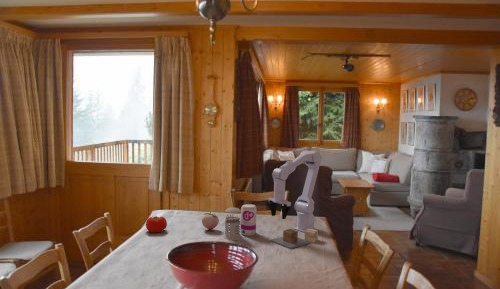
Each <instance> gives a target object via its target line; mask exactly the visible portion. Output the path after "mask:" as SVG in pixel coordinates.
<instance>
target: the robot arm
mask: <svg viewBox="0 0 500 289" xmlns="http://www.w3.org/2000/svg"><path fill="white" fill-rule="evenodd" d="M321 161H322V155H321V152H320V151H317V150H307V149H305V150H303V151H300V154H299V155H298V156H297V157H296V158H294V159H293V160H287V161H286V162H285V163H284V164H283V165H281V166H280V167H279V168H278V167H276V168H274V169H273V170H272V173H271V176H272V180H273V197H268V198H267V199H268V202H267V205H268V207H269V210H270V214H271V216H272V217H275V216H276V215H277V206H278V205H279V204H280V210H281V219H282V220H286V219H287V216H288V213H289V211H290V209H291V206H292V202H291V201H288V200H286V180H287V179H288V177H289V175H291V173H293V172H294V171H295V170H296V168H297V167H298V166H300V165H301V164H303V163H304V164H305V165H306V166H307V168H308V171H307V174H306V177H305V181H304V186H303V190H302V194H301V195H300V196H298V197H297V200H296V201H295V203H294V210H295V211H296V214H297V219H296V220H297V221H296V227H293V230H296V231H300V232H303V233H305V231H306V230H308V229H313V230H316V228H315V216H314V214H313V213H314V210H315V201H314V200H313V198H312V197H313V194H314V190H315V185H316V180H317V178H318V173H319V169H320V165H321Z"/></svg>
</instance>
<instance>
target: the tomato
mask: <svg viewBox="0 0 500 289" xmlns="http://www.w3.org/2000/svg"><path fill="white" fill-rule="evenodd" d="M167 226H168V222H167V219H166V218H165V217H164V216H160V217H159V216H158V215H156V216H151V217H148V219H146V221H145V228H146V230H148V231H149V232H151V233H161V232H163V231H164V230H165V229H166V228H167Z"/></svg>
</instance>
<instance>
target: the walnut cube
mask: <svg viewBox="0 0 500 289" xmlns="http://www.w3.org/2000/svg"><path fill="white" fill-rule="evenodd" d="M298 231H299V230H296V229H294V228H293V229H292V228H288V229H284V230H283V234H282V237H283V241H286V242H289V243H293V242H296V241H297V240H298V238H299V237H298V236H299V234H298V233H299V232H298Z"/></svg>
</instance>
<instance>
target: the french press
mask: <svg viewBox="0 0 500 289" xmlns="http://www.w3.org/2000/svg"><path fill="white" fill-rule="evenodd" d="M231 192H232V195H233V196H232V202H233V203H234V199H235V198H234V197H235V196H234V195H235V192H236V188H232V189H231ZM224 211H225V213H227V215H226V216H225V219H224V220H225V221H224V226H225V228H224V235H223V236H222V238H223V239H224V240H227V241H228V240H229V241H237V240H238V241H239V240H241V239H242V238H243V237H242V234H241V217H238V216H232V215H228V214H240V213H241V208H240V209H239V208H238V207H234V206H232V207H231V206H230V207H228V208H227V209H225V210H224Z"/></svg>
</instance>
